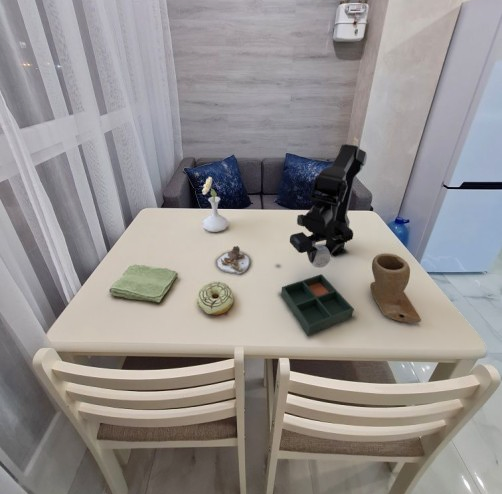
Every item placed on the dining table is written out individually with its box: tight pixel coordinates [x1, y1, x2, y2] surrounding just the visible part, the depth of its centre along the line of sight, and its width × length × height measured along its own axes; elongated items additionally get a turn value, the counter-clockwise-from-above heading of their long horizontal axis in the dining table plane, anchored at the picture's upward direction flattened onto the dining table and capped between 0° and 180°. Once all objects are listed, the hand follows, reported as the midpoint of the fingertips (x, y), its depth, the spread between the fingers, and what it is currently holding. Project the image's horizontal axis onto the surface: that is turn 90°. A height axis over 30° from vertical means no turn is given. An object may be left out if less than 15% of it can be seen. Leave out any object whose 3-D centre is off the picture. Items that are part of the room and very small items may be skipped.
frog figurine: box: [216, 245, 250, 275], centre depth 95 cm, size 12×12×4 cm
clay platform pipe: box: [370, 252, 422, 324], centre depth 76 cm, size 15×12×15 cm
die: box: [307, 243, 331, 268], centre depth 80 cm, size 5×5×5 cm
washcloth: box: [108, 264, 179, 303], centre depth 84 cm, size 13×18×3 cm
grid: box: [280, 273, 355, 337], centre depth 78 cm, size 15×15×3 cm
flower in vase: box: [201, 176, 229, 233], centre depth 110 cm, size 13×11×25 cm
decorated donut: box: [196, 281, 234, 315], centre depth 78 cm, size 10×11×4 cm
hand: (318, 259), depth 80 cm, fingers closed on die, 5 cm apart
